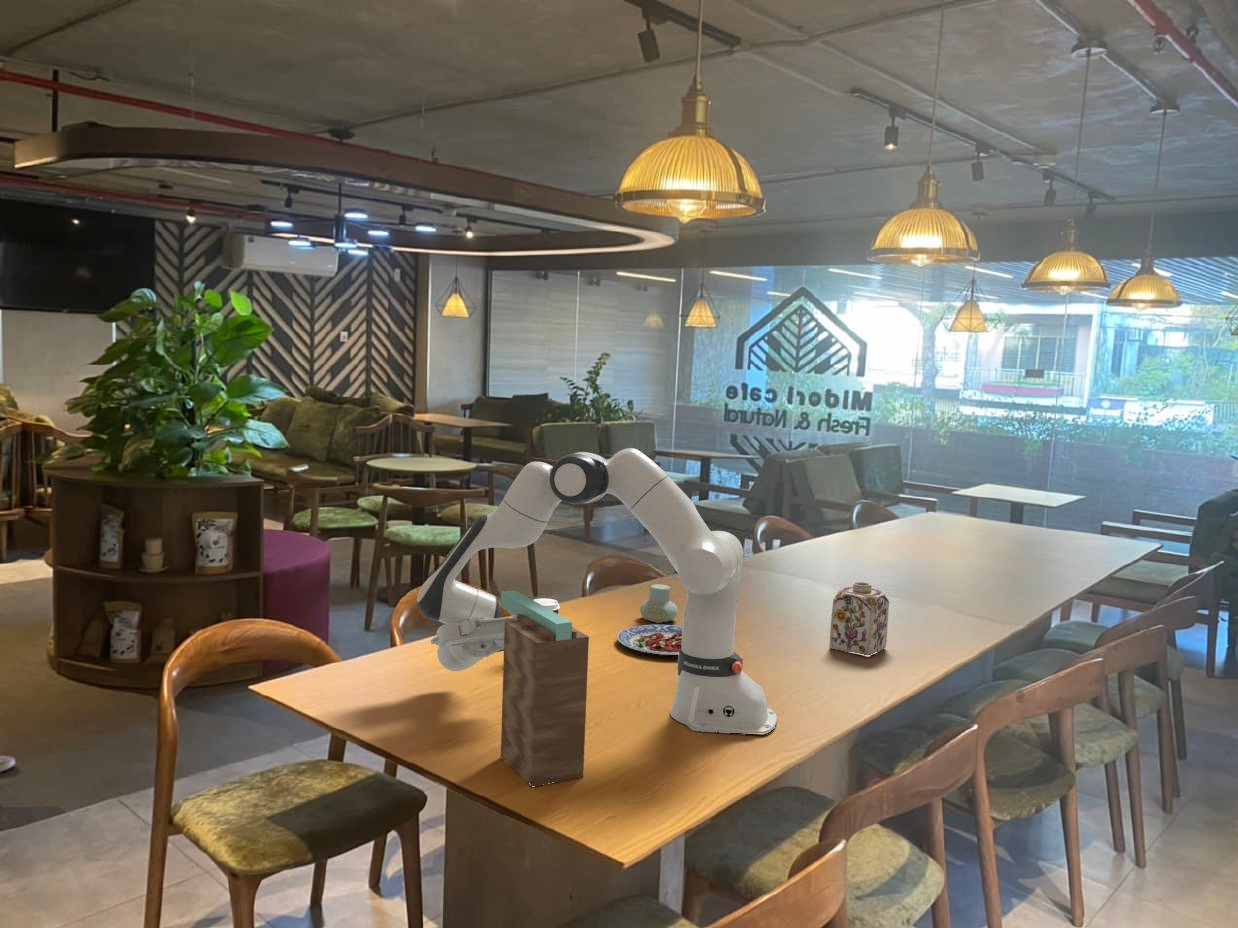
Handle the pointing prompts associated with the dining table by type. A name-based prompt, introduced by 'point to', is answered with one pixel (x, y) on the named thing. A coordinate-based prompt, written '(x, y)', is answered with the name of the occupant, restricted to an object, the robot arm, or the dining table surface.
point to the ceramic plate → (653, 639)
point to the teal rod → (537, 614)
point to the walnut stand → (543, 702)
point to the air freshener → (659, 605)
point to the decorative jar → (859, 620)
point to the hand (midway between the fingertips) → (498, 620)
